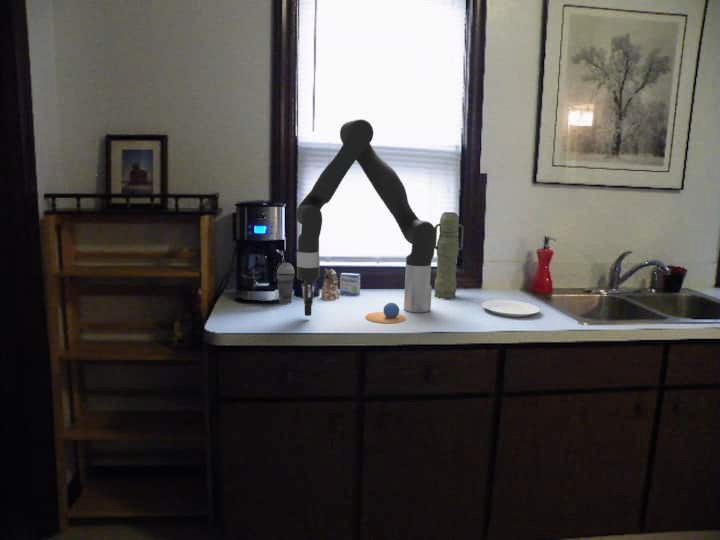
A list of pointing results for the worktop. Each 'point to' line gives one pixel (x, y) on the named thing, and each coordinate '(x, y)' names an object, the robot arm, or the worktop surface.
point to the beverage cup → (285, 282)
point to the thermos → (447, 255)
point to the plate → (511, 308)
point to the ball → (391, 310)
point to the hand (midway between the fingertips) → (307, 315)
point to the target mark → (384, 318)
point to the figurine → (330, 286)
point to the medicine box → (349, 284)
